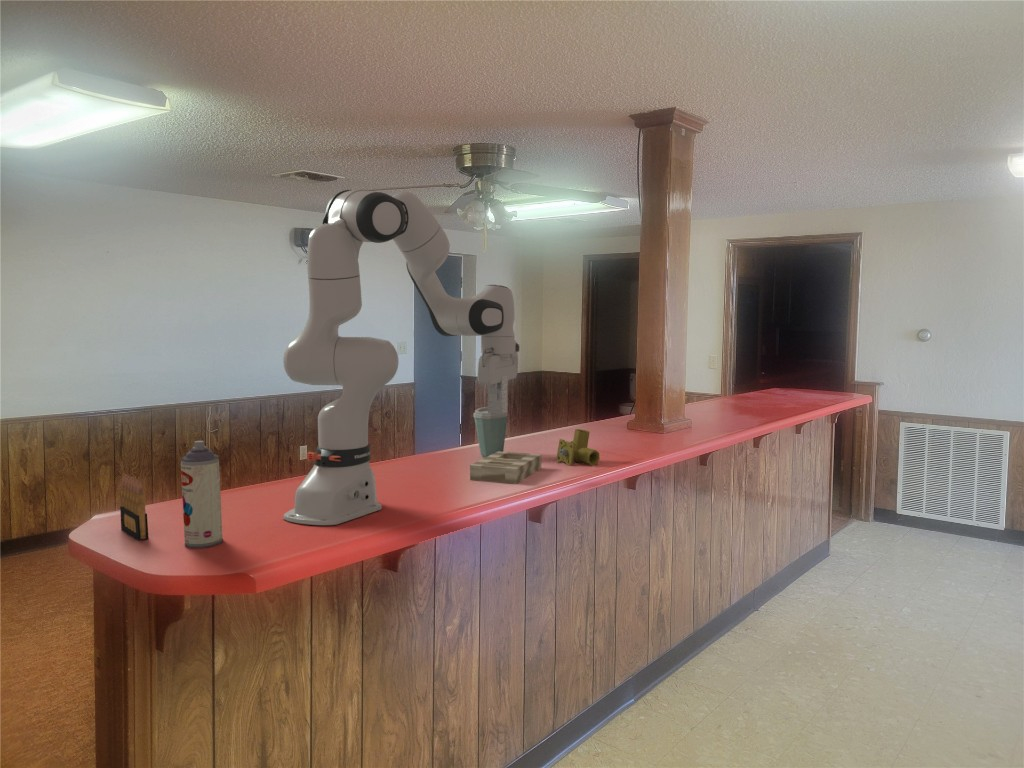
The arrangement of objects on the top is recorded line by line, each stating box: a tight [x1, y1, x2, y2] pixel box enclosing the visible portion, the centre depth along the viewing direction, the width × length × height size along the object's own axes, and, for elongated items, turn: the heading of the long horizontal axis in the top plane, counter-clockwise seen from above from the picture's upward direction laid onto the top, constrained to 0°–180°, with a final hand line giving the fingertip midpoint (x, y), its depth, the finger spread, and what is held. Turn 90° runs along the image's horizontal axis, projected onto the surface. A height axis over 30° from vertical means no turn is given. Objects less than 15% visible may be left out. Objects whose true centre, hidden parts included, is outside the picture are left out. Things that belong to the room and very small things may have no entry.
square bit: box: [487, 375, 509, 414], centre depth 194 cm, size 4×4×10 cm
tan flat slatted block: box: [469, 451, 542, 485], centre depth 201 cm, size 20×13×4 cm, turn 159°
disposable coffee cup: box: [472, 406, 509, 459], centre depth 223 cm, size 11×11×15 cm
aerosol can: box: [180, 440, 224, 549], centre depth 141 cm, size 7×7×20 cm
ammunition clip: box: [119, 472, 150, 542], centre depth 147 cm, size 11×2×12 cm, turn 45°
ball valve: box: [555, 428, 600, 467], centre depth 215 cm, size 13×10×10 cm
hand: (498, 398), depth 194 cm, fingers closed on square bit, 4 cm apart
